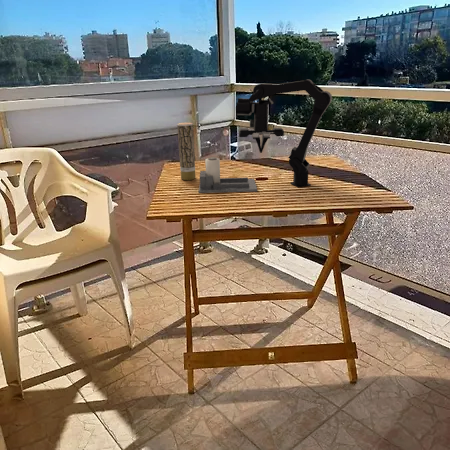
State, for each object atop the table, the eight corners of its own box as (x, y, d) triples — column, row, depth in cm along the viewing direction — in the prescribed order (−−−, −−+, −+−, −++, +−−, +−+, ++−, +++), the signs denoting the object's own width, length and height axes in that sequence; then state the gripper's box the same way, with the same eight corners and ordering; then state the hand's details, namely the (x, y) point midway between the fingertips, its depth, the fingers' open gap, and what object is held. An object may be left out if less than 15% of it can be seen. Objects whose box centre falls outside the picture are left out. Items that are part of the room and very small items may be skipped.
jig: (253, 180, 178) (253, 167, 176) (257, 191, 163) (257, 177, 161) (200, 182, 178) (199, 169, 176) (198, 193, 163) (197, 178, 161)
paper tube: (193, 181, 180) (190, 124, 171) (179, 180, 181) (175, 124, 172) (197, 177, 186) (194, 122, 177) (183, 176, 188) (179, 122, 178)
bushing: (220, 182, 173) (219, 156, 169) (220, 186, 167) (219, 159, 163) (206, 182, 173) (205, 156, 169) (206, 186, 167) (205, 160, 163)
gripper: (280, 112, 173) (279, 148, 179) (237, 113, 173) (238, 149, 179) (284, 115, 163) (283, 153, 169) (239, 116, 163) (239, 154, 169)
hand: (260, 152), depth 171 cm, fingers closed
